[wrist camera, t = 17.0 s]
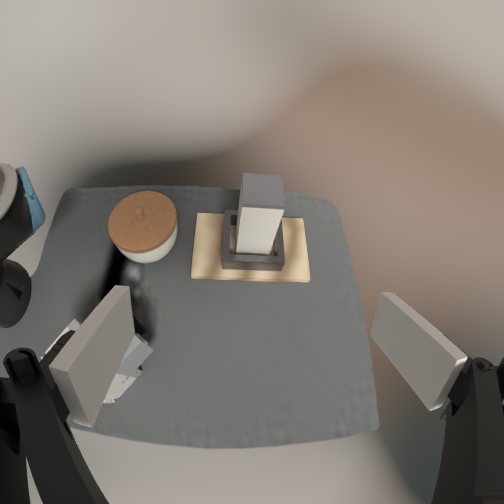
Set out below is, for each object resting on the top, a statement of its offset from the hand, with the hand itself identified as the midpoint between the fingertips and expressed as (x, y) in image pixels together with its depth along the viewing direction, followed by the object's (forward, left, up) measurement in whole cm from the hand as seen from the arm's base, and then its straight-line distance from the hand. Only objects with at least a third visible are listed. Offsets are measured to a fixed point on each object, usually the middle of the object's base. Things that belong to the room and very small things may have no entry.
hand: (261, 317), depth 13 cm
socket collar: (-12, +20, -32) cm, 40 cm away
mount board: (-12, +20, -34) cm, 41 cm away
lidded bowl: (-27, +7, -34) cm, 44 cm away
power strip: (-12, +20, -32) cm, 40 cm away
